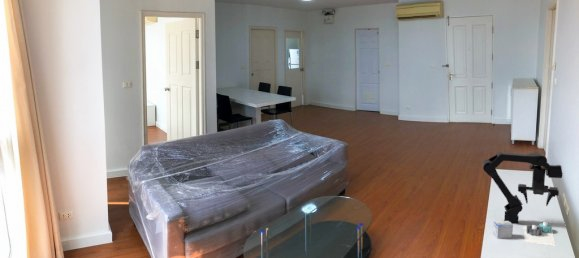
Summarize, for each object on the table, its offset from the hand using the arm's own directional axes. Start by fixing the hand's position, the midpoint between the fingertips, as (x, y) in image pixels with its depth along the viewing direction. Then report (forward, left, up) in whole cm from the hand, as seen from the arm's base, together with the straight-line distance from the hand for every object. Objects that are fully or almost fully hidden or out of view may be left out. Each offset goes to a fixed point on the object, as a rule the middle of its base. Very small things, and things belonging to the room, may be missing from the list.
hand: (536, 204), depth 232 cm
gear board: (+1, -16, -12) cm, 20 cm away
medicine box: (-16, -23, -12) cm, 30 cm away
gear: (-1, -14, -11) cm, 17 cm away
